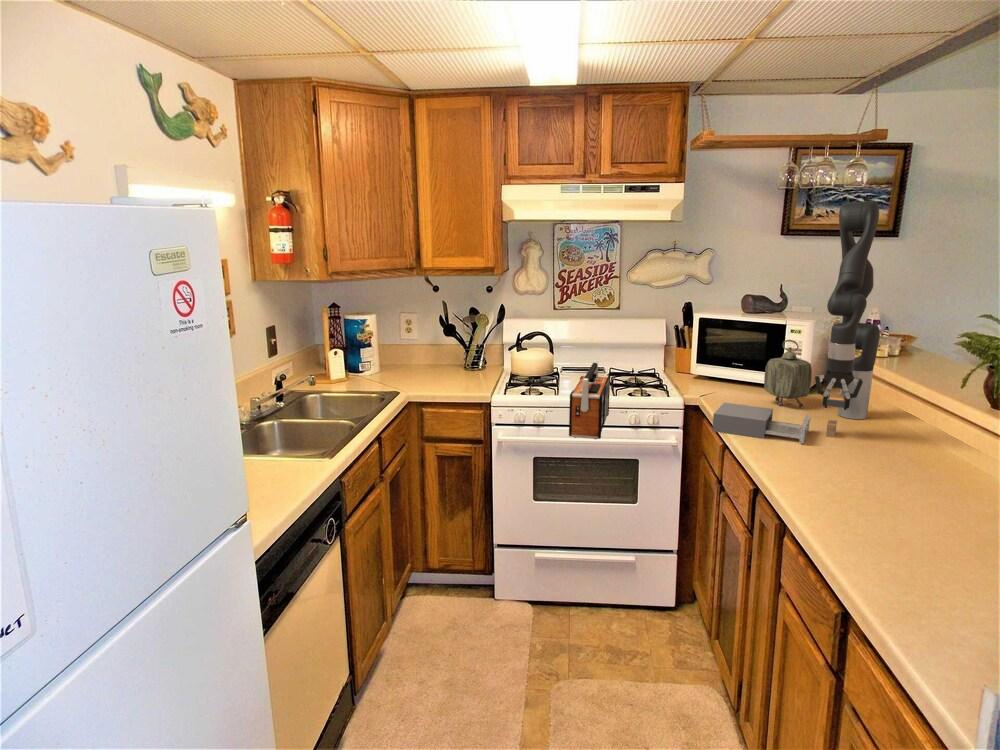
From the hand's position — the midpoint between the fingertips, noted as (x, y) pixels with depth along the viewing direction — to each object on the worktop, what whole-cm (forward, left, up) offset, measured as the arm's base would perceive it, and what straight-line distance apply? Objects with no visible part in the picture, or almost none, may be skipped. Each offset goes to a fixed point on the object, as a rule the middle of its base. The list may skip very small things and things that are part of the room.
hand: (835, 408), depth 207 cm
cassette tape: (0, 0, +2) cm, 2 cm away
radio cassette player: (+33, -71, -9) cm, 79 cm away
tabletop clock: (-30, -18, -9) cm, 36 cm away
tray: (+8, -15, -8) cm, 19 cm away
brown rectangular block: (0, 0, -9) cm, 9 cm away
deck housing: (+8, -26, -9) cm, 29 cm away
